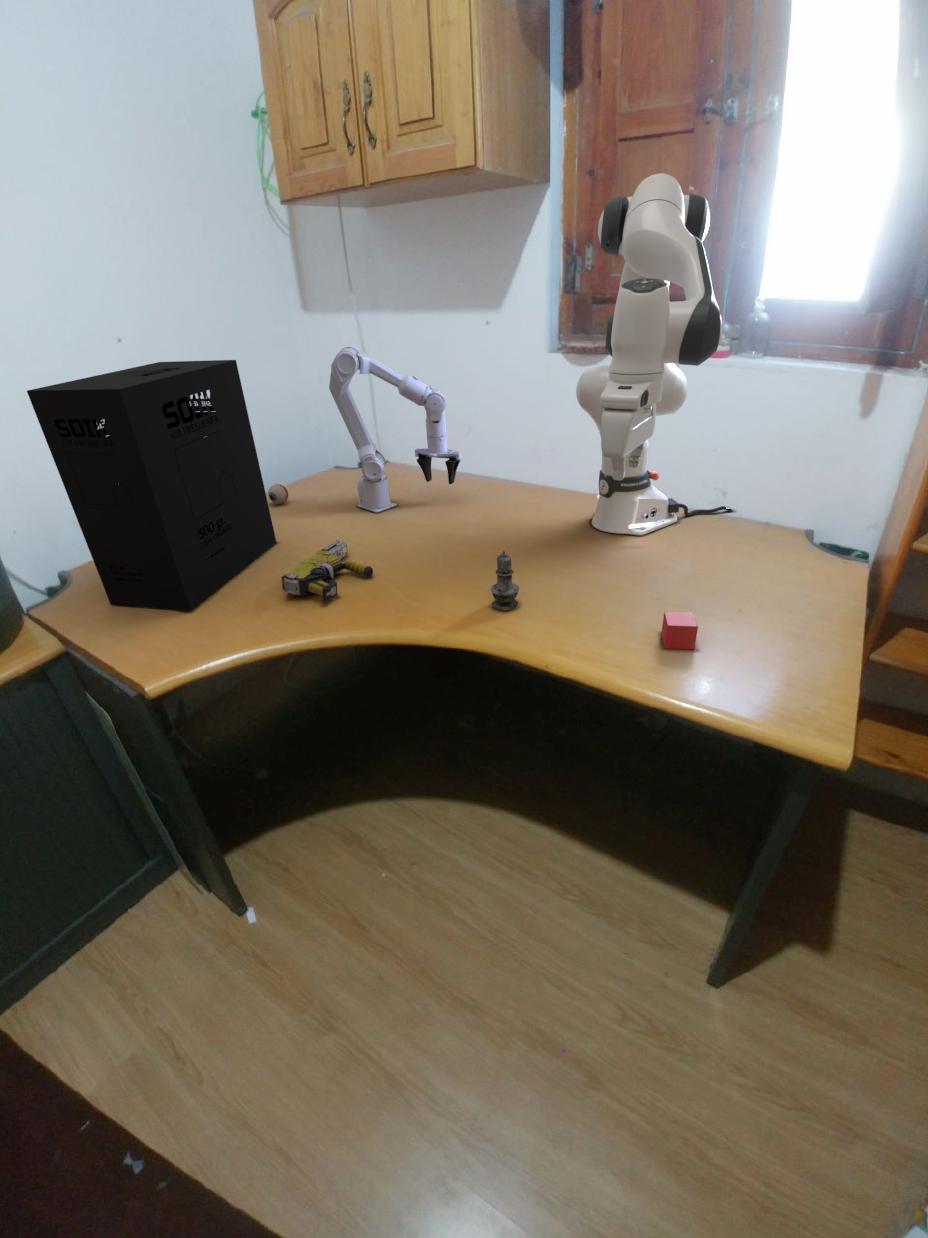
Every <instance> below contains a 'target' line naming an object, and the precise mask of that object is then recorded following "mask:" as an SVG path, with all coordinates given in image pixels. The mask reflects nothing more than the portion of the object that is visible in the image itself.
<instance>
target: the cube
mask: <svg viewBox="0 0 928 1238" xmlns="http://www.w3.org/2000/svg"><path fill="white" fill-rule="evenodd" d="M662 620H663V621H662V625H661V633H660V634H661V638H662V643H663V646H664V649H670V650H671V649H672V650H673V649H674V650H695V647H696V641H697V635H698V629H699V626H698V625H699V624H698V623H697V618H696V616H695V613H694V612H685V611H683V612H682V611H681V612H680V611H664V612H663V617H662Z"/></svg>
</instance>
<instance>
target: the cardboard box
mask: <svg viewBox="0 0 928 1238" xmlns="http://www.w3.org/2000/svg"><path fill="white" fill-rule="evenodd" d="M238 367H239V366H238V363H237V360H236V359H220V360H219V359H218V360H217V359H215V360H183V361H181V360H180V361H177V360H176V361H157V362H153V363H148V364H144V365H140V366H134V367H130V368H124V369H121V370H116V371H111V372H107V373H103V374H98V375H93V376H89V377H83V378H79V379H75V380H70V381H65V382H61V383H56V384H51V385H46V386H41V387H38V388H33V389H32V388H31V389H28V390H26V393H27V396H28V398H29V401H30V404H31V406H32V409H33V412H34V414H35V416H36V418H37V421H38V424H39V426H40V428H41V431H42V434H43V436H44V439H45V441H46V443H47V446H48V450H49V451H50V454H51V457H52V459H53V462H54V465H55V467H56V469H57V472H58V474H59V477H60V480H61V482H62V485H63V487H64V489H65V492H66V494H67V497H68V499H69V502H70V505H71V508H72V510H73V513H74V515H75V518H76V519H77V522H78V526H79V529H80V530H81V533H82V535H83V538H84V540H85V543H86V546H87V547H88V550H89V553H90V556H91V559H92V561H93V564H94V566H95V569H96V571H97V573H98V576H99V579H100V581H101V584H102V587H103V588H104V591H105V593H106V594H105V595H106V597H107V599H108V602H109V604H110V606H117V607H130V608H144V609H158V610H170V611H171V610H172V611H184V612H192V611H193V610H194V609H196V608H197V607H198V606H199V605H200V604H202V603H203V602H204V601H205V600H206V599H208V598H209V597H211V596H212V595H213V594H214V593H215V592H217V591H218V590H219V589H221V587H223V586H224V585H225V584H227V583H228V582H229V581H230V580H232V579H233V578H234V577H235V576H237V575H238V574H239V573H240V572H241V571H243V570H244V569H245V568H246V567H248V566H249V565H251V564H252V563H253V562H254V561H256V560H257V559H258V558H259V557H260V556H262V555H263V554H264V553H265V552H267V551H268V550H269V549H270V548H271V547H273V546H274V545H276V543H277V538H276V534H275V529H274V524H273V520H272V516H271V511H270V506H269V502H268V496H267V494H266V493H267V492H266V489H265V485H264V480H263V475H262V471H261V466H260V462H259V457H258V453H257V449H256V444H255V440H254V434H253V431H252V427H251V421H250V417H249V413H248V412H249V411H248V409H247V403H246V399H245V395H244V390H243V385H242V381H241V375H240V373H239V368H238ZM208 392H209V396H208ZM196 394H197V396H196ZM191 396H192V398H191ZM201 396H202V397H203V398H201Z"/></svg>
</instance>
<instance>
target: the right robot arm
mask: <svg viewBox="0 0 928 1238" xmlns="http://www.w3.org/2000/svg"><path fill="white" fill-rule="evenodd" d="M710 214H711V213H710V209H709V202H708V200H707V198H706V197H705V196H703V195H701V194H696V193H691V192H690V193H689V194H683V190H682V187H681V185H680V183H679V181H678V180H677V179H676V178H675V177H673V176H672V175H671V174H667V173H654V174H652V175H650V176H647V177H646V178H645V179H643V180H642V181H641V182H640V183H639V184H638V186H637V187H636V188H635V191H634V192H633V194H632V196H631V195H630V196H625V195H621V196H617V197H614V198H612V199H610V200H609V201H608V202H607V203H606V204H605V205H604V209H603V210H602V212H601V214H600V217H599V221H598V225H597V226H598V227H597V236H598V241H599V244H600V248H601V250H602V251H603V253H604V254H606V255H609V256H614V257H618V256H623V259H624V262H625V263H624V265H623V268H622V269H623V270H622V273H621V276H620V280H619V281H620V282H619V287H618V292H617V296H616V302H615V306H614V310H613V311H614V312H613V313H612V314H610V316H609V317H608V318H607V319H606V334H605V336H606V337H605V346H604V347H605V348H604V350H605V351H606V352H607V354H608V355H609V356H610V357H611V361H610V364H609V365H608V364H607V365H599V366H595V367H590V368H587V369H585V371H583V372H582V374H581V375H580V377H579V378H578V380H577V383H576V388H575V395H576V396H575V397H576V400H577V402H578V404H579V406H580V408H581V409H582V410H583V411H584V412H586V413H587V414H588V415H589V416H590V417H591V419H592V420H593V422H594V423H595V426H596V427H597V429H598V432H599V436H600V449H601V468H600V470H599V474H598V492H599V493H598V495H597V502H596V507H595V511H594V514H593V517H592V520H591V525H592V526H593V527H594V528H595V529H597V530H599V531H601V532H605V533H611V534H623V535H625V534H626V535H632V536H633V535H634V536H645V535H646V534H650V533H652V532H654V531H657V530H660V529H662V528H665V527H668V526H670V525H672V524H675V523H677V522H678V516H677V515H676V514H677V513H679V511H680V508H681V509H683V514H684V516H685V517H691V516H693V515H696V514H712V513H716V512H720V511H722V510H723V511H727V512H728V513H733V512H734V510H733V509H732V508H731V507H729V508H730V509H726V507H725V506H726V505H722V506H718V507H715V508H711V509H710V508H709V509H694V510H692V511H689V507H688V506H687V505H686V504H684V503H681V502H680V503H679V502H677V501H676V500H675V499H673V498H672V497H670V498H668V497H667V496H666V495H665V494H664V493H663V492H661V491H660V490H659V489H658V488H656V487H655V486H654V485H652V483H651V480H653V481H658V479H659V478H660V473H659V472H657V471H654V470H651V471H649V470H648V469H647V466H648V458H649V457H648V456H649V446H650V443H649V439H651V437H652V436H653V435H654V432H655V428H656V417H660V416H667V415H672V414H675V413H677V412H678V411H679V410H680V409H681V407H682V406H683V405H684V403H685V401H686V399H687V396H688V389H689V386H688V380H687V378H686V375H685V374H684V372H683V371H682V369H680V368H679V367H678V366H677V365H676V364H679V365H681V366H682V365H683V366H697V367H698V366H700V365H701V364H703V363H705V362H706V361H707V360H709V359H710V358H711V357H712V356H713V355H714V354H715V353H716V352H717V351H718V348H719V345H720V343H721V338H722V333H723V319H722V316H721V310H720V306H719V305H718V302H717V299H716V296H715V292H714V288H713V282H712V276H711V272H710V271H711V270H710V266H709V261H708V258H707V254H706V250H705V246H704V243H703V241H704V240H705V238H706V236H707V235H708V231H709V227H710V221H711V215H710ZM670 283H672V284H675V285H677V286H679V287H681V288H682V289H683V291H684V297H685V300H680V301H679V300H677V301H671V300H670V298H671V297H670ZM675 513H676V514H675Z"/></svg>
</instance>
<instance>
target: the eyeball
mask: <svg viewBox="0 0 928 1238" xmlns="http://www.w3.org/2000/svg"><path fill="white" fill-rule="evenodd" d="M267 490H268V491H267V497H268V499H269V500H270V501H271V502H272V503H274V504H276V505H281V504H284V503H285V502H286V501H287V500H288V498H289V491H288V489H287V487H286V486H285V485H283V484H281V483H275V484H273V485H271V486H270V487H269V488H268V489H267Z"/></svg>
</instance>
